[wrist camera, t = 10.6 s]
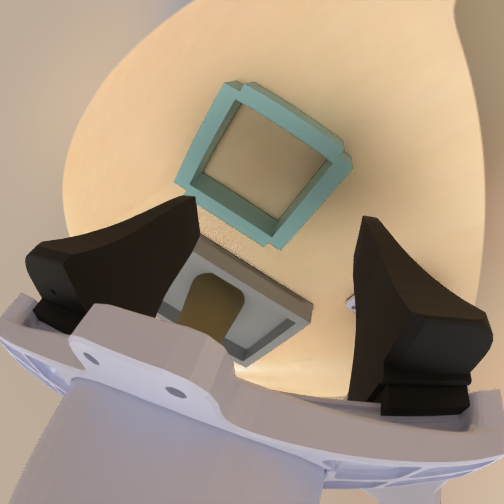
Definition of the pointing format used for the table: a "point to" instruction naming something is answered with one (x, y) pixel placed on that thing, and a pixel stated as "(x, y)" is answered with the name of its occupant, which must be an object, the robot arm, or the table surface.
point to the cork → (211, 306)
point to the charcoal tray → (254, 309)
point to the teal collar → (236, 207)
